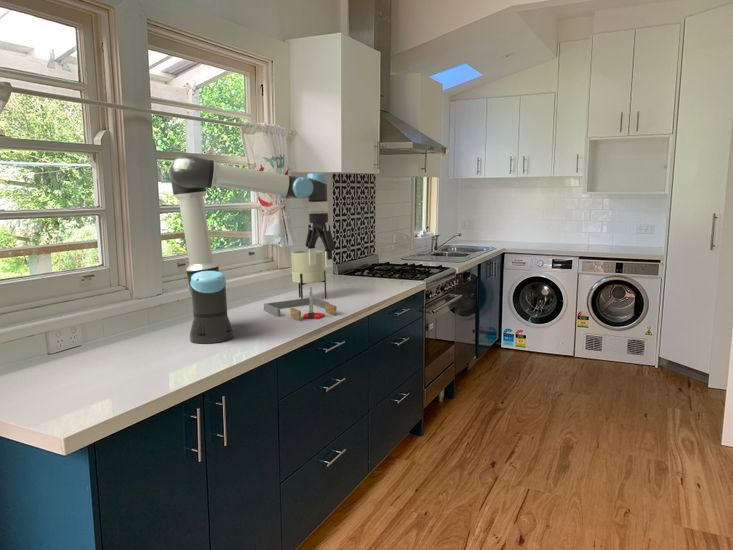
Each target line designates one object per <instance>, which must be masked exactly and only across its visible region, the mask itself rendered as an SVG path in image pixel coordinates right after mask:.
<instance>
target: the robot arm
mask: <svg viewBox="0 0 733 550" xmlns="http://www.w3.org/2000/svg"><path fill="white" fill-rule="evenodd" d="M168 177H169V179H170V182H171V189H172V190H171V191H172V194H173V196H174V198H175V199H177V200H178V203H179V204H178V205H179V211H180V215H181V221H182V222H181V223H182V227H183V232H184V234H183V235H184V239H185V245H186V250H187V257H188V266H187V268H186V269H185V270H186V277H187V282H188V285H187V288H188V292H189V294H190V295H191V301H192V303H191V304H192V313H193V314H192V315H193V316H192V317H193V319H192V323H191V327H190V331H189V341H190V342H191V343H195V344H214V343H222V342H226V341H229V340H231V339H232V338H234V337H235V334H234V328H233V326H232V323H231V321H230V319H229V318H230V317H229V315H228V306H227V305H228V303H227V291H226V290H227V289H226V288H227V287H226V284H227V279H226V277H225V274H224V273H223V272H221V271H220V270H219V269H220V268H219V264H218V263H216V262H215V261H214V256H213V251H212V244H211V239H210V234H209V225H208V219H207V214H206V208H205V201H204V196H205V195H206V193H207V189H212V188H214V187H219V188H227V189H234V190H242V191H246V192H247V191H248V192H256V193H263V194H269V195H276V196H278V198H279V199H286V200H288V199H303V200H304V199H308V212H309V214H308V217H309V218H308V221H309V223H310V224H308V231H307V234H306V235H307V236H306V239H305V247H307V249H308V250H309V265H314V264H316V251H315V250H316V248H317V247H316V245H317V244H316V243H317V242H318V238H319V239H321V241H322V244H323V246H324V249H325V250H324V261H325V262H324V268H325V269H330V268H331V269H332V268H333V251H334V250H336V246H335V245H336V244H335V242H334V238H333V235H332V231H331V225H329V224H328V225H327V223H328V222H329V213H327V212H329V203H328V182H327V180H328V179H327V175H326V173H324V172H309V173H307V177H305V176H294V175H288V174H282V173H276V172H275V173H274V172H268V171H265V170H264V171H262V170H257V169H251V168H244V167H239V166H238V167H237V166H233V165H232V166H231V165H226V164H219V163H217V162H216V160H214V159H208V158H204V157H199V156H196V155H193V154H186V153H185V154H181V155H179V156H177V157H175V158H174V160H173V161H172V162H171V164H170V165H169V168H168Z"/></svg>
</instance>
